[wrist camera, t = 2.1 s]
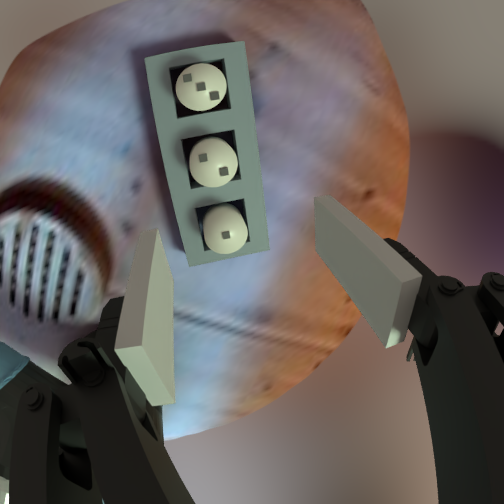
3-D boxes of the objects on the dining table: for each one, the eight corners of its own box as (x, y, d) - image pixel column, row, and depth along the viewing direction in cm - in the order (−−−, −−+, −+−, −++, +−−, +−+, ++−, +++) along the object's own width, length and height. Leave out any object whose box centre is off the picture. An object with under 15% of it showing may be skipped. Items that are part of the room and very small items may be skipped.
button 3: (180, 113, 25) (179, 115, 22) (174, 71, 23) (172, 68, 20) (225, 105, 26) (229, 106, 23) (219, 63, 24) (223, 59, 21)
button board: (188, 255, 34) (189, 266, 32) (147, 60, 23) (144, 58, 21) (264, 239, 35) (269, 249, 33) (239, 45, 24) (244, 41, 22)
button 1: (206, 242, 33) (209, 258, 30) (199, 207, 30) (200, 220, 28) (244, 235, 33) (250, 249, 30) (239, 199, 31) (244, 211, 28)
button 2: (193, 181, 29) (194, 192, 26) (185, 141, 27) (185, 146, 24) (235, 173, 29) (240, 183, 27) (229, 133, 27) (234, 137, 24)
